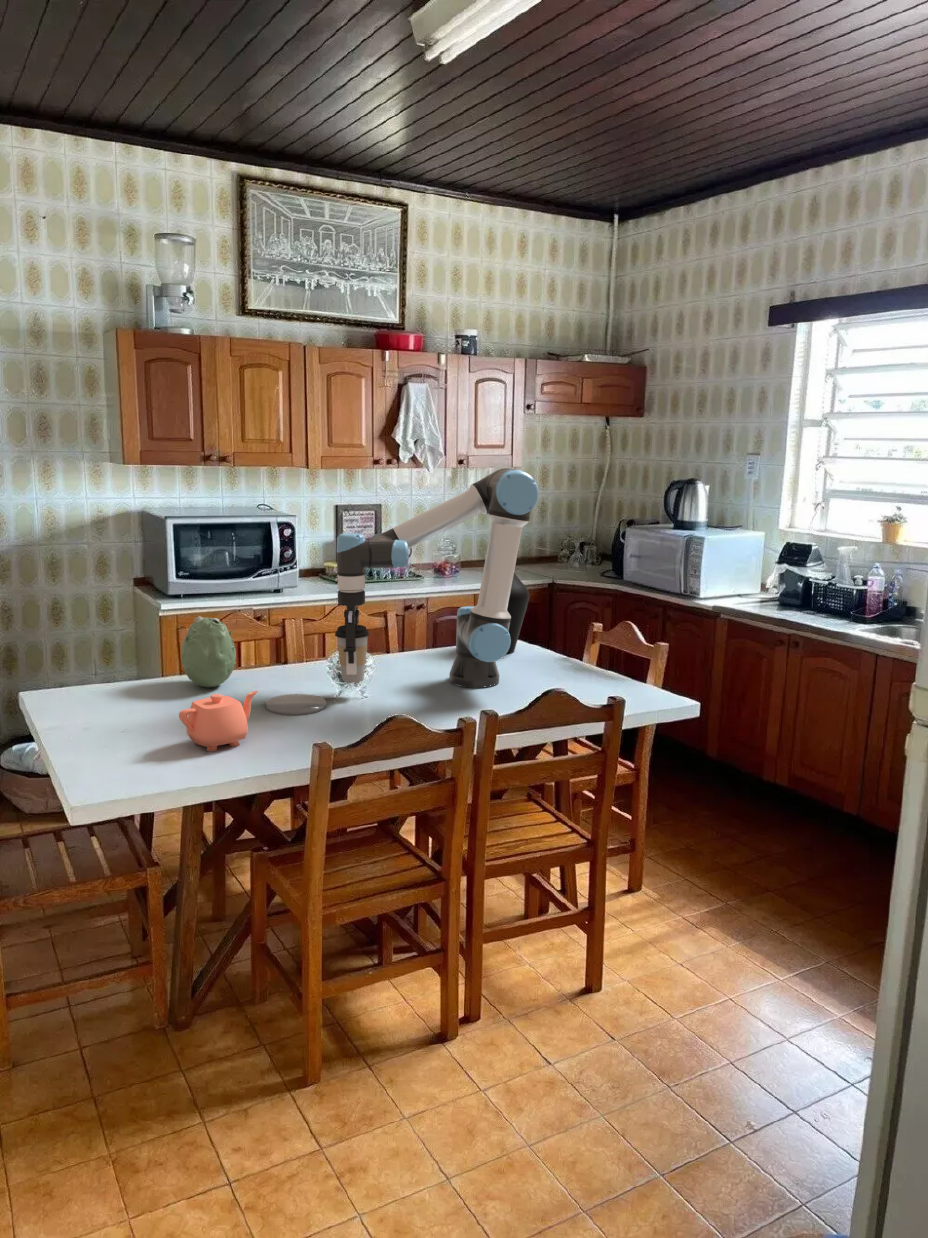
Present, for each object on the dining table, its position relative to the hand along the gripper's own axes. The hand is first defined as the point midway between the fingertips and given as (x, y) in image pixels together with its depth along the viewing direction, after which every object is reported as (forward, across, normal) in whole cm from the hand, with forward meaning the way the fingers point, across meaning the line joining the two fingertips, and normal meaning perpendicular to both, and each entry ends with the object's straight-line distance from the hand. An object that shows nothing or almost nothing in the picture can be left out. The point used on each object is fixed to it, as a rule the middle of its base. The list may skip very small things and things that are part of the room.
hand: (352, 669), depth 256 cm
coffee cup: (+3, 0, 0) cm, 3 cm away
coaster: (+8, +9, -15) cm, 19 cm away
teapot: (+7, +39, -29) cm, 49 cm away
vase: (+10, -58, +47) cm, 75 cm away
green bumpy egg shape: (+7, -9, -42) cm, 43 cm away
